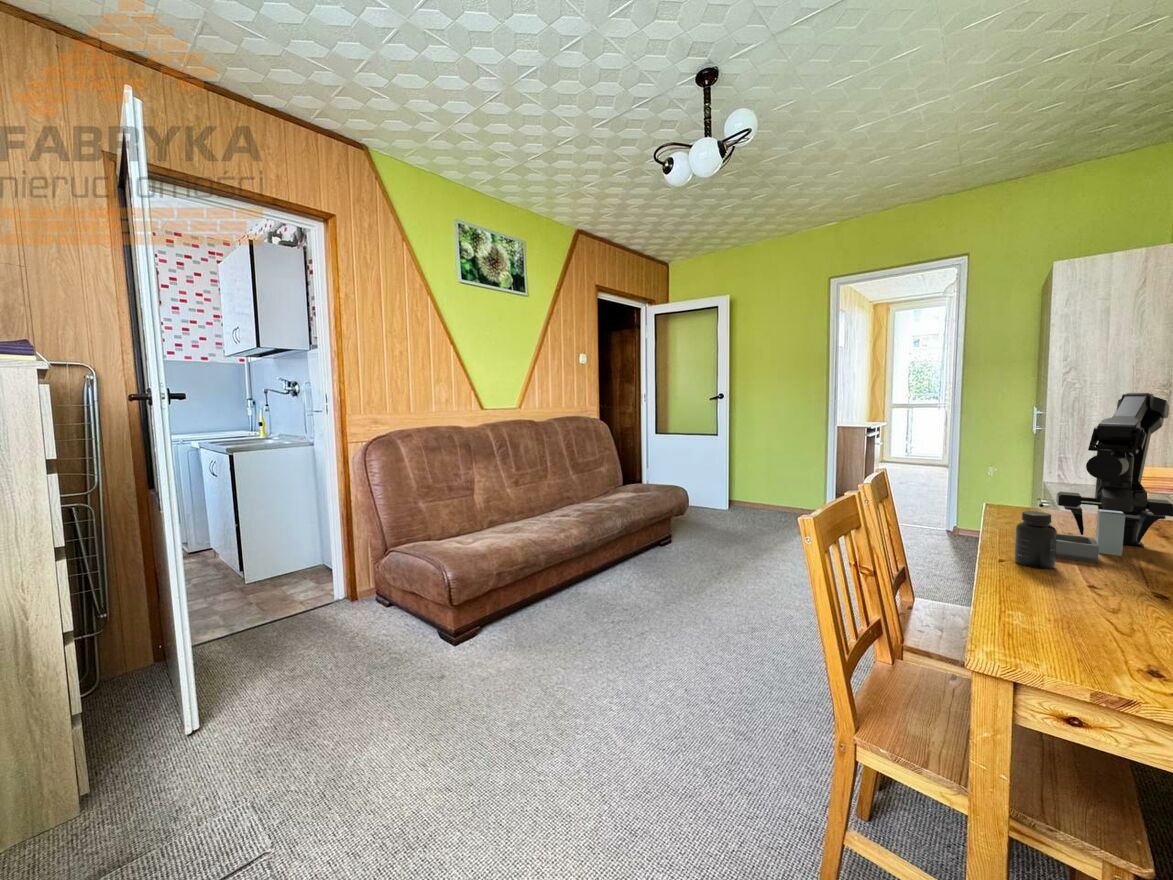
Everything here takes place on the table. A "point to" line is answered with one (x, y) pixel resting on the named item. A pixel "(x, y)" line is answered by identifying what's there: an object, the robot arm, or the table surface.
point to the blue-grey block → (1110, 531)
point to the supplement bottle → (1035, 541)
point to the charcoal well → (1077, 548)
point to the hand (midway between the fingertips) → (1109, 538)
